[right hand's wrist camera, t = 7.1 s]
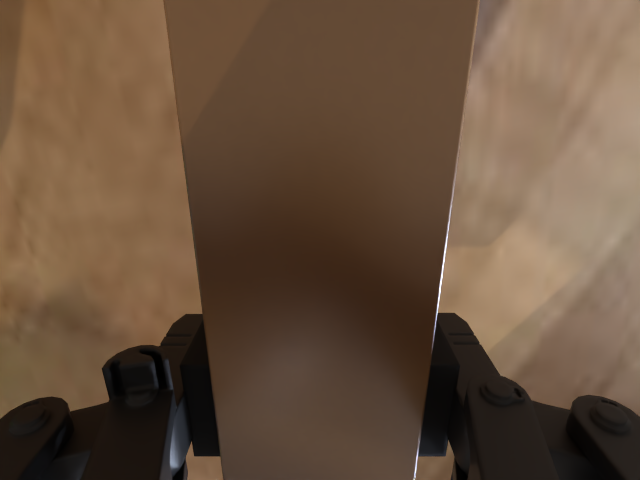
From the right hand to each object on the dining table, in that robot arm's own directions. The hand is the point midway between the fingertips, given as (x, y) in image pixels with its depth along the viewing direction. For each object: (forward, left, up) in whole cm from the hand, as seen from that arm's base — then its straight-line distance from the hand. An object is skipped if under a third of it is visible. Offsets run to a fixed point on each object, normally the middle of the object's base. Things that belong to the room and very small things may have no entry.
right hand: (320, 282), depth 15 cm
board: (+18, -20, -1) cm, 26 cm away
